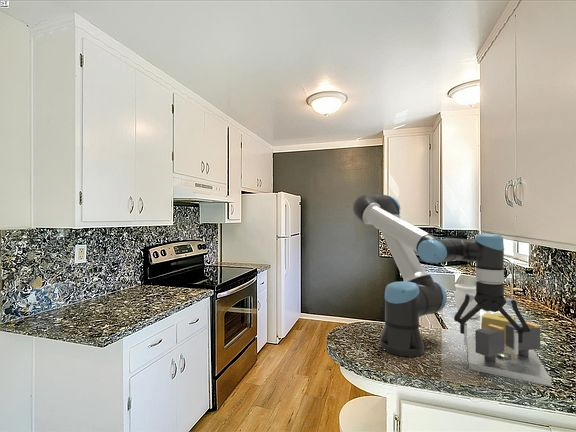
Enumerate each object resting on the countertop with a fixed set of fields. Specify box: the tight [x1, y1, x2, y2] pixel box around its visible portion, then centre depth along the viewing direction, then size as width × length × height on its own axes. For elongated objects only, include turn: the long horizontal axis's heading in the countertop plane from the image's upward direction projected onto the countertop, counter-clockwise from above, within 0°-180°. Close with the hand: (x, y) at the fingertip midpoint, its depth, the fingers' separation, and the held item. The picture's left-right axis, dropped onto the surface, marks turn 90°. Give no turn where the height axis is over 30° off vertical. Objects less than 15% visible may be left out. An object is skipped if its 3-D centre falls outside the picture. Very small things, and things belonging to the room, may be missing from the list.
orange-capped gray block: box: [506, 321, 541, 357], centre depth 101 cm, size 9×4×10 cm, turn 99°
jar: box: [454, 283, 478, 319], centre depth 150 cm, size 11×10×15 cm
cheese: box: [480, 312, 516, 344], centre depth 118 cm, size 10×11×10 cm
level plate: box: [466, 337, 552, 387], centre depth 101 cm, size 20×24×3 cm
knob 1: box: [474, 324, 504, 362], centre depth 98 cm, size 9×4×10 cm, turn 119°
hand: (489, 348), depth 97 cm, fingers open, 13 cm apart
